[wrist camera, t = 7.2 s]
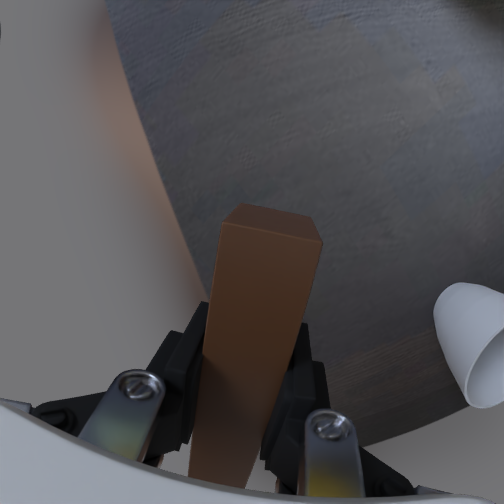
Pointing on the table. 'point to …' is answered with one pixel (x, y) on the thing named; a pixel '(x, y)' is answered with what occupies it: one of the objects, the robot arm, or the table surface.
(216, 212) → the table surface
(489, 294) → the cup
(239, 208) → the knife
